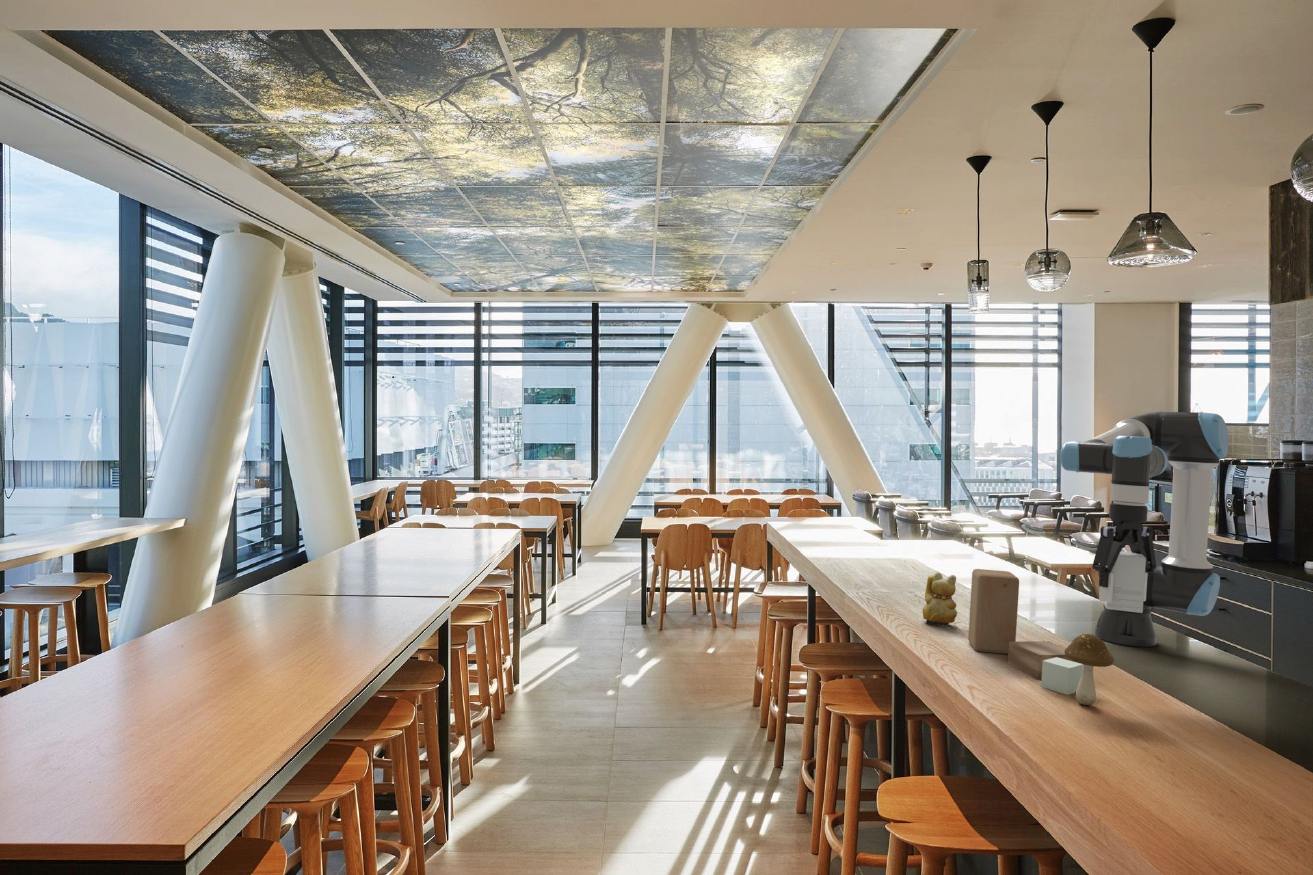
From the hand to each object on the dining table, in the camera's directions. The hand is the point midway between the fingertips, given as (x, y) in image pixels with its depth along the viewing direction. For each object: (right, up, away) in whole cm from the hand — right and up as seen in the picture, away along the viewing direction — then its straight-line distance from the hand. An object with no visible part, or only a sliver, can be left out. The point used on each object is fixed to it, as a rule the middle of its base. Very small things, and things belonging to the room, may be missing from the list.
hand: (1122, 600), depth 184 cm
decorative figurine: (-24, -17, +51) cm, 59 cm away
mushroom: (-16, -19, -15) cm, 29 cm away
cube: (-16, -19, -4) cm, 25 cm away
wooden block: (-19, -18, +27) cm, 38 cm away
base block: (-14, -19, +9) cm, 25 cm away
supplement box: (0, -2, 0) cm, 2 cm away
